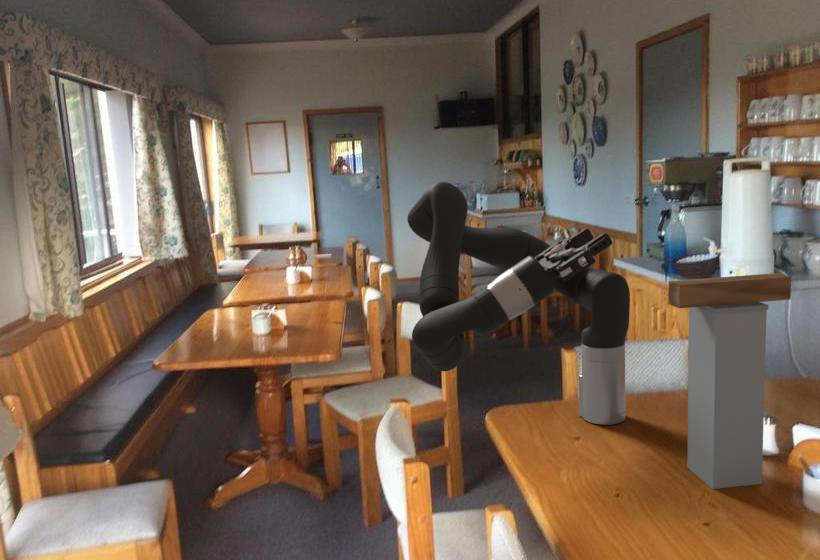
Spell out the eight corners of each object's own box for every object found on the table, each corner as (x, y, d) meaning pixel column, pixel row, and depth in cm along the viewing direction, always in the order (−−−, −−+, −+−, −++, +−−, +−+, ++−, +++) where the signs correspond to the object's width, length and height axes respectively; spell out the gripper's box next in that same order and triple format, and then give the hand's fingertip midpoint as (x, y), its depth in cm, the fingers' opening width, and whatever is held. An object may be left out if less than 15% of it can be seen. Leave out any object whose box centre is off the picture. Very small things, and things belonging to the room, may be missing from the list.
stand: (685, 467, 133) (687, 298, 128) (733, 462, 134) (737, 294, 129) (712, 489, 124) (715, 309, 119) (763, 484, 125) (768, 304, 120)
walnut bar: (668, 303, 125) (668, 281, 124) (776, 295, 127) (776, 273, 126) (679, 308, 121) (679, 284, 120) (790, 299, 123) (791, 276, 122)
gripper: (519, 276, 113) (604, 219, 113) (498, 264, 127) (574, 213, 127) (543, 315, 114) (627, 258, 115) (520, 298, 128) (595, 248, 129)
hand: (599, 235), depth 121 cm, fingers open, 8 cm apart
